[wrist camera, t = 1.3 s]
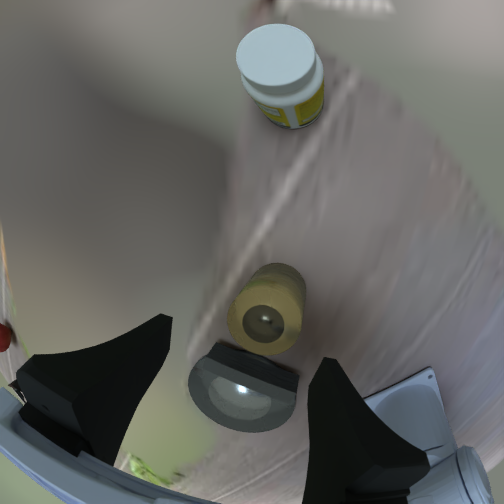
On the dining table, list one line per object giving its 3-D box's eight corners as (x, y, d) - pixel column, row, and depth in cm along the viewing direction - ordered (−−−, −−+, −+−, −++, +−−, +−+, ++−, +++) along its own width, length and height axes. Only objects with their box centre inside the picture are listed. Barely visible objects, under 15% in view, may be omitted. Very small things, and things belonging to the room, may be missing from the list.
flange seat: (204, 331, 25) (189, 349, 22) (314, 375, 23) (313, 398, 20) (183, 402, 28) (171, 420, 25) (271, 438, 26) (266, 459, 23)
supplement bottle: (319, 73, 18) (316, 14, 10) (326, 128, 19) (331, 89, 11) (259, 78, 19) (226, 26, 11) (263, 132, 20) (230, 99, 12)
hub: (316, 300, 22) (314, 338, 16) (268, 324, 23) (252, 365, 17) (287, 252, 21) (275, 276, 16) (239, 279, 23) (212, 309, 17)
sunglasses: (30, 376, 40) (17, 389, 35) (60, 415, 43) (50, 429, 38) (15, 372, 43) (4, 383, 38) (42, 408, 46) (32, 419, 41)
